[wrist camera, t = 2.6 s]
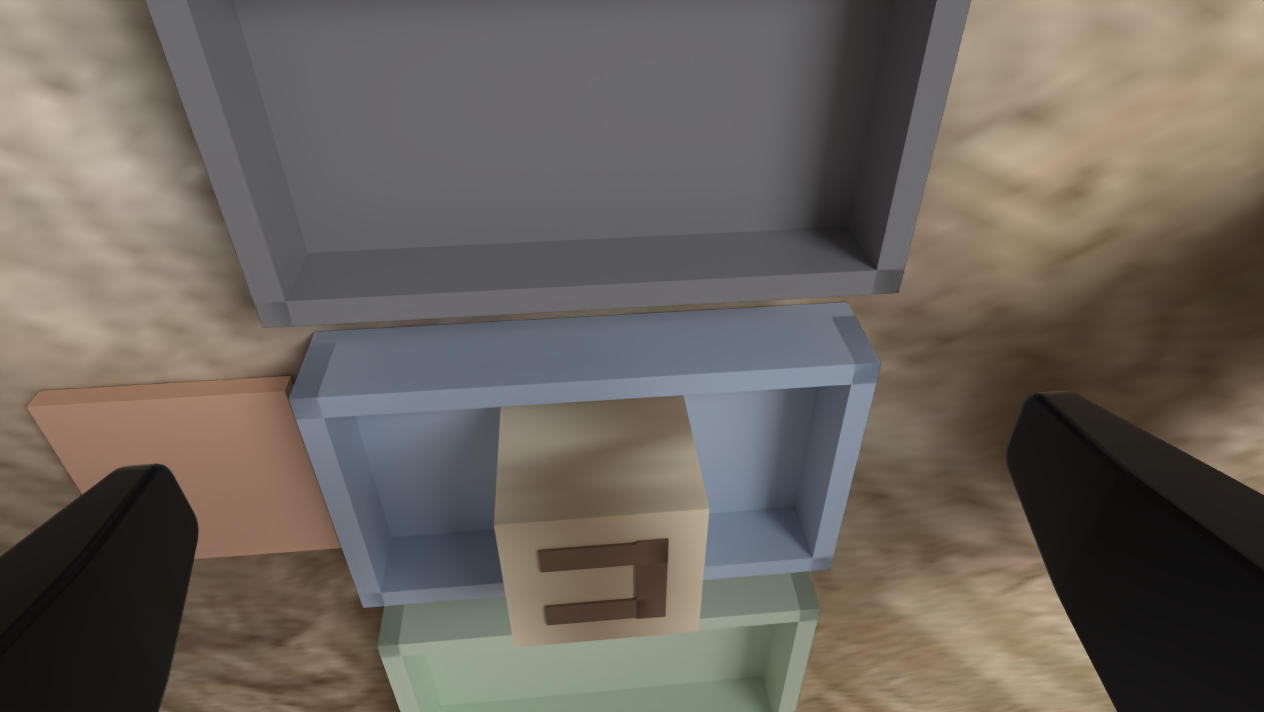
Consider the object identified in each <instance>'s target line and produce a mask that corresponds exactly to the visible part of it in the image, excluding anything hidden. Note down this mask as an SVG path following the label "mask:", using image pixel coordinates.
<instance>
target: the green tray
mask: <svg viewBox="0 0 1264 712" xmlns="http://www.w3.org/2000/svg"><path fill="white" fill-rule="evenodd" d="M819 612H820V606H819V603H818V600H817V597H816V594H815V591H814V588H813V585H812V582H811V579H810V576H809V573H808V571H807V572H794V573H782V574H770V575H758V576H746V577H733V578H721V579H709V580H703V587H702V598H701V609H700V620H699V632H688V633H677V634H665V635H654V636H642V637H631V638H619V639H608V640H596V641H585V642H573V643H562V644H550V645H539V646H527V647H516V648H514V642H513V636H512V630H511V624H510V618H509V612H508V606H507V600H506V596H501V597H489V598H477V599H465V600H452V601H440V602H428V603H416V604H404V605H391V606H384V611H383V617H382V622H381V628H380V633H379V639H378V644H377V648H378V650H379V653H380V656H381V659H382V662H383V664H384V667H385V670H386V673H387V676H388V678H389V681H390V684H391V687H392V690H393V692H394V695H395V698H396V701H397V703H398V706H399V709H400V712H795V709H796V705H797V701H798V697H799V693H800V689H801V685H802V681H803V677H804V673H805V669H806V665H807V661H808V657H809V653H810V649H811V645H812V641H813V637H814V633H815V628H816V624H817V620H818V616H819Z"/></svg>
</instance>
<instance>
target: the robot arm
mask: <svg viewBox="0 0 1264 712" xmlns="http://www.w3.org/2000/svg"><path fill="white" fill-rule="evenodd" d="M1006 462H1007V467H1008V470H1009V473H1010V475H1011V478H1012V481H1013V483H1014V486H1015V488H1016V491H1017V494H1018V496H1019V499H1020V501H1021V504H1022V507H1023V509H1024V512H1025V514H1026V517H1027V520H1028V522H1029V525H1030V527H1031V530H1032V533H1033V535H1034V538H1035V540H1036V543H1037V546H1038V548H1039V551H1040V553H1041V556H1042V559H1043V561H1044V564H1045V566H1046V569H1047V571H1048V574H1049V576H1050V579H1051V581H1052V583H1053V586H1054V588H1055V590H1056V593H1057V595H1058V597H1059V599H1060V601H1061V603H1062V605H1063V607H1064V609H1065V611H1066V613H1067V615H1068V617H1069V619H1070V621H1071V623H1072V625H1073V627H1074V629H1075V631H1076V633H1077V635H1078V637H1079V639H1080V641H1081V642H1082V644H1083V646H1084V648H1085V650H1086V652H1087V654H1088V656H1089V658H1090V660H1091V662H1092V664H1093V666H1094V668H1095V670H1096V672H1097V674H1098V676H1099V677H1100V679H1101V681H1102V683H1103V685H1104V687H1105V689H1106V691H1107V693H1108V695H1109V697H1110V699H1111V701H1112V703H1113V705H1114V707H1115V709H1116V711H1117V712H1264V495H1263V494H1261V493H1259V492H1257V491H1255V490H1253V489H1252V488H1250V487H1248V486H1246V485H1244V484H1242V483H1240V482H1239V481H1237V480H1235V479H1233V478H1231V477H1229V476H1228V475H1226V474H1224V473H1222V472H1220V471H1218V470H1216V469H1215V468H1213V467H1211V466H1209V465H1207V464H1205V463H1204V462H1202V461H1200V460H1198V459H1196V458H1194V457H1192V456H1191V455H1189V454H1187V453H1185V452H1183V451H1181V450H1179V449H1178V448H1176V447H1174V446H1172V445H1170V444H1168V443H1167V442H1165V441H1163V440H1161V439H1159V438H1157V437H1155V436H1154V435H1152V434H1150V433H1148V432H1146V431H1144V430H1143V429H1141V428H1139V427H1137V426H1135V425H1133V424H1131V423H1130V422H1128V421H1126V420H1124V419H1122V418H1120V417H1119V416H1117V415H1115V414H1113V413H1111V412H1109V411H1107V410H1106V409H1104V408H1102V407H1100V406H1098V405H1096V404H1095V403H1093V402H1091V401H1089V400H1087V399H1085V398H1083V397H1082V396H1080V395H1078V394H1076V393H1074V392H1071V391H1064V390H1062V391H1049V392H1037V393H1034V394H1031V395H1030V396H1029V397H1028V398H1027V399H1026V400H1025V401H1024V403H1023V406H1022V408H1021V411H1020V413H1019V416H1018V419H1017V421H1016V424H1015V427H1014V429H1013V432H1012V434H1011V437H1010V440H1009V442H1008V445H1007V450H1006ZM198 534H199V528H198V522H197V518H196V515H195V513H194V511H193V509H192V507H191V506H190V504H189V502H188V500H187V498H186V496H185V495H184V493H183V491H182V489H181V487H180V486H179V484H178V482H177V480H176V478H175V476H174V475H173V473H172V472H171V470H170V469H169V468H168V467H166V466H165V465H163V464H158V463H154V464H142V465H130V466H124V467H120V468H117V469H115V470H114V471H112V472H111V473H110V474H108V475H107V476H106V477H104V478H103V479H102V480H100V481H99V482H98V483H96V484H95V485H94V486H92V487H91V488H90V489H88V490H87V491H86V492H85V493H83V494H82V495H81V496H79V497H78V498H77V499H75V500H74V501H73V502H71V503H70V504H69V505H67V506H66V507H65V508H63V509H62V510H61V511H59V512H58V513H57V514H56V515H54V516H53V517H52V518H50V519H49V520H48V521H46V522H45V523H44V524H42V525H41V526H40V527H38V528H37V529H36V530H34V531H33V532H32V533H31V534H29V535H28V536H27V537H25V538H24V539H23V540H21V541H20V542H19V543H17V544H16V545H15V546H13V547H12V548H11V549H9V550H8V551H7V552H5V553H4V554H3V555H2V556H0V712H159V708H160V705H161V702H162V699H163V696H164V692H165V689H166V686H167V682H168V679H169V675H170V671H171V667H172V662H173V658H174V654H175V649H176V644H177V639H178V634H179V630H180V625H181V620H182V615H183V610H184V605H185V601H186V596H187V591H188V586H189V581H190V576H191V572H192V567H193V562H194V557H195V552H196V547H197V542H198Z"/></svg>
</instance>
